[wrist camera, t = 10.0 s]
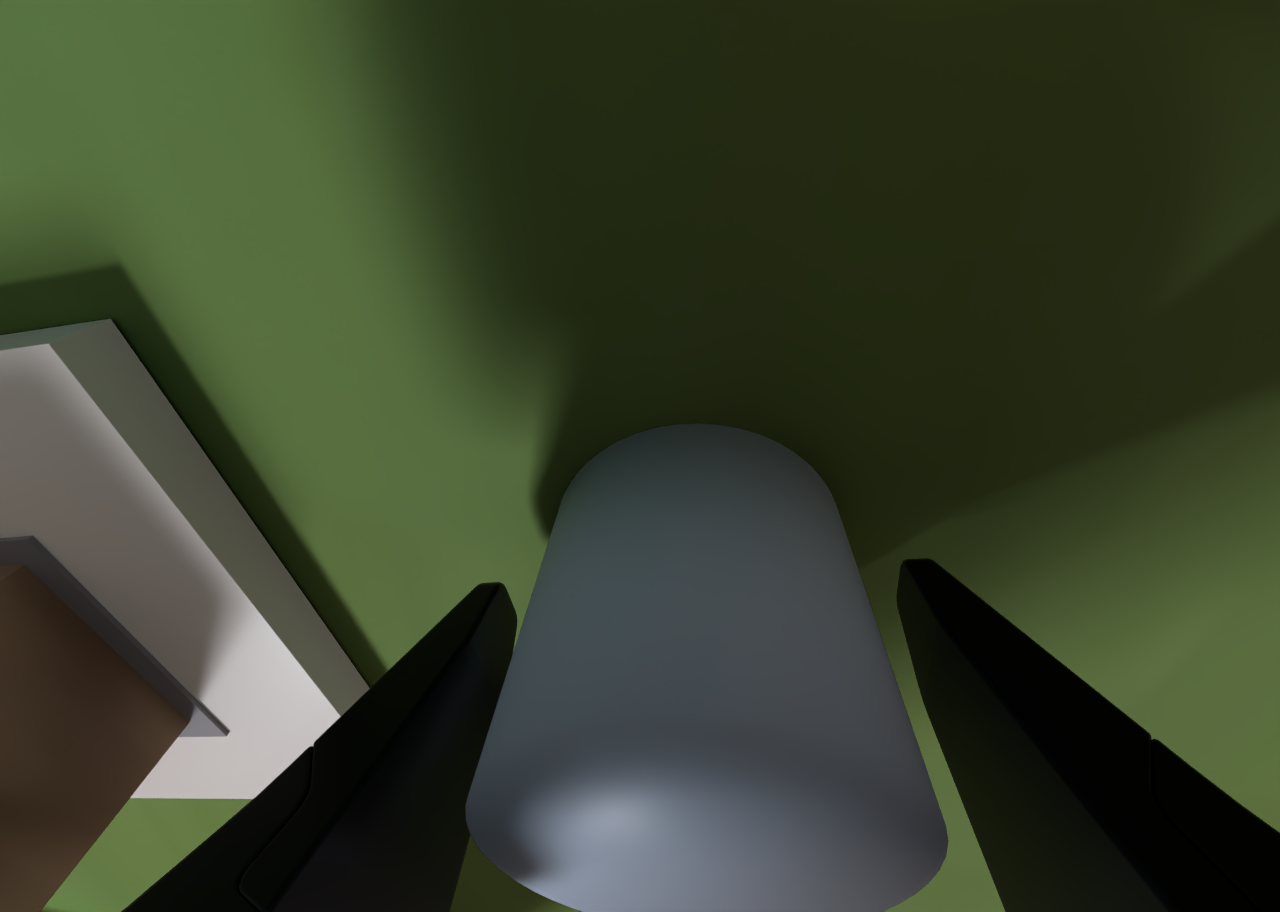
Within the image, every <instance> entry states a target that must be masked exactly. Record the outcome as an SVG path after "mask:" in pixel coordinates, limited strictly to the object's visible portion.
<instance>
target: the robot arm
mask: <svg viewBox="0 0 1280 912" xmlns="http://www.w3.org/2000/svg"><path fill="white" fill-rule="evenodd" d="M897 606H898V611H899V615H900V618H901V622H902V626H903V630H904V633H905V637H906V641H907V645H908V648H909V652H910V656H911V660H912V663H913V667H914V671H915V675H916V678H917V682H918V686H919V689H920V693H921V696H922V700H923V703H924V705H925V708H926V711H927V714H928V716H929V719H930V721H931V724H932V726H933V729H934V732H935V734H936V737H937V739H938V742H939V744H940V747H941V749H942V752H943V754H944V757H945V759H946V762H947V764H948V767H949V770H950V772H951V775H952V777H953V780H954V782H955V785H956V787H957V790H958V792H959V795H960V797H961V800H962V803H963V805H964V808H965V810H966V813H967V815H968V818H969V820H970V823H971V825H972V828H973V830H974V833H975V836H976V838H977V841H978V843H979V846H980V848H981V851H982V853H983V856H984V858H985V861H986V863H987V866H988V868H989V871H990V874H991V876H992V879H993V881H994V884H995V886H996V889H997V891H998V894H999V896H1000V899H1001V901H1002V904H1003V907H1004V909H1005V912H1280V833H1279V832H1278V831H1277V830H1275V829H1274V828H1272V827H1271V826H1270V825H1268V824H1267V823H1266V822H1264V821H1263V820H1261V819H1260V818H1259V817H1257V816H1256V815H1255V814H1253V813H1252V812H1250V811H1249V810H1248V809H1246V808H1245V807H1243V806H1242V805H1241V804H1239V803H1238V802H1237V801H1236V800H1234V799H1233V798H1232V797H1230V796H1229V795H1228V794H1226V793H1225V792H1224V791H1223V790H1221V789H1220V788H1219V787H1217V786H1216V785H1215V784H1214V783H1212V782H1211V781H1210V780H1208V779H1207V778H1206V777H1204V776H1203V775H1202V774H1201V773H1199V772H1198V771H1197V770H1195V769H1194V768H1193V767H1191V766H1190V765H1189V764H1188V763H1186V762H1185V761H1184V760H1183V759H1181V758H1180V757H1179V756H1178V755H1176V754H1175V753H1174V752H1173V751H1171V750H1170V749H1169V748H1168V747H1166V746H1165V745H1164V744H1163V743H1161V742H1160V741H1159V740H1157V739H1152V740H1151V735H1150V733H1149V732H1147V731H1146V730H1145V729H1144V728H1142V727H1141V726H1140V725H1139V724H1137V723H1136V722H1135V721H1134V720H1132V719H1131V718H1130V717H1129V716H1127V715H1126V714H1125V713H1123V712H1122V711H1121V710H1120V709H1118V708H1117V707H1116V706H1115V705H1113V704H1112V703H1111V702H1110V701H1108V700H1107V699H1106V698H1105V697H1103V696H1102V695H1101V694H1100V693H1098V692H1097V691H1096V690H1095V689H1093V688H1092V687H1091V686H1090V685H1088V684H1087V683H1086V682H1085V681H1083V680H1082V679H1081V678H1080V677H1078V676H1077V675H1076V674H1075V673H1073V672H1072V671H1071V670H1070V669H1068V668H1067V667H1066V666H1065V665H1063V664H1062V663H1061V662H1060V661H1058V660H1057V659H1056V658H1055V657H1053V656H1052V655H1051V654H1050V653H1048V652H1047V651H1046V650H1045V649H1043V648H1042V647H1041V646H1040V645H1038V644H1037V643H1036V642H1035V641H1033V640H1032V639H1031V638H1030V637H1028V636H1027V635H1026V634H1025V633H1023V632H1022V631H1021V630H1020V629H1018V628H1017V627H1016V626H1015V625H1013V624H1012V623H1011V622H1010V621H1008V620H1007V619H1006V618H1005V617H1003V616H1002V615H1001V614H1000V613H998V612H997V611H996V610H995V609H993V608H992V607H991V606H990V605H988V604H987V603H986V602H985V601H983V600H982V599H981V598H980V597H978V596H977V595H976V594H975V593H973V592H972V591H971V590H970V589H968V588H967V587H966V586H965V585H963V584H962V583H961V582H960V581H958V580H957V579H956V578H955V577H953V576H952V575H951V574H950V573H948V572H947V571H946V570H945V569H943V568H942V567H941V566H940V565H938V564H937V563H936V562H935V561H933V560H931V559H928V558H922V559H906V560H904V561H903V562H902V564H901V567H900V574H899V582H898V589H897ZM516 629H517V615H516V611H515V609H514V606H513V604H512V601H511V599H510V597H509V594H508V592H507V589H506V587H505V585H504V584H502V583H500V582H492V583H481V584H479V585H477V586H476V587H475V588H474V589H473V590H472V591H471V592H470V593H469V594H468V595H467V596H466V597H465V598H464V599H463V600H461V601H460V602H459V603H458V604H457V605H456V606H455V607H454V608H453V609H452V610H451V611H450V612H449V613H448V614H447V615H446V616H445V617H444V618H443V619H442V620H441V621H440V622H439V623H438V624H436V625H435V626H434V627H433V628H432V629H431V630H430V631H429V632H428V633H427V634H426V635H425V636H424V637H423V638H422V639H421V640H420V641H419V642H418V643H417V644H416V645H415V646H414V647H413V648H411V649H410V650H409V651H408V652H407V653H406V654H405V655H404V656H403V657H402V658H401V659H400V660H399V661H398V662H397V663H396V664H395V665H394V666H393V667H392V668H391V669H390V670H389V671H387V672H386V673H385V674H384V675H383V676H382V677H381V678H380V679H379V680H378V681H377V682H376V683H375V684H374V685H373V686H372V687H371V688H370V689H369V690H368V691H367V692H366V693H365V694H364V695H362V696H361V697H360V698H359V699H358V700H357V701H356V702H355V703H354V704H353V705H352V706H351V707H350V708H349V709H348V710H347V711H346V712H345V713H344V714H343V715H342V716H341V717H340V718H339V719H337V720H336V721H335V722H334V723H333V724H332V725H331V726H330V727H329V728H328V729H327V730H326V731H325V732H324V733H323V734H322V735H321V736H320V737H319V738H318V739H317V740H316V741H315V742H314V744H313V746H310V747H308V748H307V749H306V750H305V751H304V752H303V753H302V754H301V755H300V756H299V757H298V758H297V759H296V760H295V761H294V762H292V763H291V764H290V765H289V766H288V767H287V768H286V769H285V770H284V771H283V772H282V773H281V774H280V775H279V776H278V777H276V778H275V779H274V780H273V781H272V782H271V783H270V784H269V785H268V786H267V787H266V788H265V789H264V790H262V791H261V792H260V793H259V794H258V795H257V796H256V797H255V798H254V799H253V800H251V801H250V802H249V803H248V804H247V805H246V806H245V807H243V808H242V809H241V810H240V811H239V812H238V813H237V814H235V815H234V816H233V817H232V818H231V819H230V820H229V821H227V822H226V823H225V824H224V825H223V826H222V827H221V828H219V829H218V830H217V831H216V832H215V833H214V834H212V835H211V836H210V837H209V838H208V839H207V840H205V841H204V842H203V843H202V844H201V845H199V846H198V847H197V848H196V849H195V850H194V851H192V852H191V853H190V854H189V855H188V856H186V857H185V858H184V859H183V860H182V861H181V862H179V863H178V864H177V865H176V866H175V867H174V868H172V869H171V870H170V871H169V872H168V873H166V874H165V875H164V876H163V877H162V878H161V879H159V880H158V881H157V882H156V883H155V884H154V885H152V886H151V887H150V888H149V889H148V890H146V891H145V892H144V893H143V894H142V895H141V896H139V897H138V898H137V899H136V900H135V901H133V902H132V903H131V904H130V905H129V906H128V907H126V908H125V909H124V910H123V911H122V912H450V908H451V905H452V901H453V897H454V893H455V890H456V886H457V882H458V879H459V875H460V871H461V867H462V864H463V860H464V856H465V852H466V849H467V845H468V841H469V838H470V832H469V829H468V826H467V822H466V808H465V805H466V802H467V798H468V795H469V791H470V788H471V785H472V782H473V779H474V775H475V772H476V769H477V766H478V763H479V760H480V756H481V753H482V750H483V747H484V744H485V741H486V737H487V734H488V731H489V728H490V725H491V722H492V719H493V715H494V712H495V709H496V706H497V703H498V700H499V696H500V693H501V690H502V687H503V684H504V681H505V677H506V674H507V671H508V668H509V665H510V662H511V659H512V655H513V648H514V642H515V636H516Z"/></svg>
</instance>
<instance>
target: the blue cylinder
mask: <svg viewBox="0 0 1280 912" xmlns="http://www.w3.org/2000/svg"><path fill="white" fill-rule="evenodd" d="M465 808H466V822H467V826H468V829H469V832H470V834H471V836H472V838H473V840H474V841H475V843H476V845H477V847H478V848H479V849H480V850H481V851H482V853H483V854H484V855H485V856H486V857H487V858H488V859H489V860H490V861H491V862H492V863H493V864H494V865H495V866H496V867H497V868H499V869H500V870H501V871H502V872H504V873H505V874H506V875H508V876H509V877H511V878H512V879H514V880H515V881H516V882H518V883H520V884H522V885H523V886H525V887H527V888H529V889H530V890H532V891H534V892H536V893H538V894H540V895H542V896H544V897H547V898H549V899H551V900H553V901H555V902H558V903H560V904H563V905H566V906H568V907H571V908H573V909H576V910H579V911H582V912H883V911H885V910H887V909H889V908H891V907H893V906H896V905H898V904H900V903H901V902H903V901H905V900H906V899H908V898H910V897H911V896H913V895H915V894H916V893H917V892H918V891H920V890H921V889H922V888H923V887H924V886H926V885H927V884H928V883H929V882H930V881H931V880H932V878H933V877H934V876H935V875H936V874H937V872H938V871H939V870H940V868H941V866H942V864H943V861H944V859H945V857H946V853H947V847H948V836H947V830H946V825H945V822H944V819H943V816H942V813H941V810H940V807H939V804H938V801H937V799H936V796H935V793H934V790H933V787H932V784H931V781H930V778H929V775H928V772H927V769H926V766H925V763H924V760H923V758H922V755H921V752H920V749H919V746H918V743H917V740H916V737H915V734H914V731H913V728H912V725H911V722H910V719H909V717H908V714H907V711H906V708H905V705H904V702H903V699H902V696H901V693H900V690H899V687H898V684H897V681H896V678H895V676H894V673H893V670H892V667H891V664H890V661H889V658H888V655H887V652H886V649H885V646H884V643H883V640H882V637H881V635H880V632H879V629H878V626H877V623H876V620H875V617H874V614H873V611H872V608H871V605H870V602H869V599H868V596H867V594H866V591H865V588H864V585H863V582H862V579H861V576H860V573H859V570H858V567H857V564H856V561H855V558H854V555H853V553H852V550H851V547H850V544H849V541H848V538H847V535H846V532H845V529H844V526H843V523H842V520H841V517H840V514H839V512H838V509H837V506H836V503H835V501H834V499H833V496H832V494H831V492H830V490H829V489H828V487H827V485H826V484H825V482H824V481H823V479H822V478H821V477H820V476H819V474H818V473H817V472H816V471H815V470H814V469H813V468H812V467H811V465H809V464H808V463H807V462H806V461H805V460H803V459H802V458H801V457H800V456H799V455H797V454H796V453H795V452H793V451H791V450H790V449H788V448H786V447H785V446H783V445H782V444H780V443H778V442H776V441H773V440H771V439H769V438H767V437H765V436H762V435H760V434H756V433H753V432H750V431H747V430H744V429H739V428H734V427H729V426H724V425H714V424H700V423H698V424H677V425H670V426H664V427H658V428H654V429H650V430H647V431H643V432H639V433H637V434H634V435H632V436H629V437H627V438H624V439H622V440H620V441H618V442H616V443H614V444H613V445H611V446H609V447H607V448H606V449H604V450H602V451H601V452H600V453H598V454H597V455H596V456H595V457H593V458H592V459H591V460H589V461H588V462H587V463H586V464H585V466H584V467H583V468H582V469H581V470H580V471H579V472H578V473H577V474H576V476H575V477H574V478H573V480H572V481H571V483H570V484H569V486H568V488H567V490H566V492H565V494H564V496H563V498H562V501H561V504H560V507H559V510H558V513H557V516H556V520H555V523H554V526H553V529H552V532H551V535H550V539H549V542H548V545H547V548H546V551H545V554H544V557H543V561H542V564H541V567H540V570H539V573H538V576H537V580H536V583H535V586H534V589H533V592H532V595H531V599H530V602H529V605H528V608H527V611H526V614H525V617H524V621H523V624H522V627H521V630H520V633H519V636H518V640H517V643H516V646H515V649H514V652H513V655H512V659H511V662H510V665H509V668H508V671H507V674H506V677H505V681H504V684H503V687H502V690H501V693H500V696H499V700H498V703H497V706H496V709H495V712H494V715H493V719H492V722H491V725H490V728H489V731H488V734H487V737H486V741H485V744H484V747H483V750H482V753H481V756H480V760H479V763H478V766H477V769H476V772H475V775H474V779H473V782H472V785H471V788H470V791H469V795H468V798H467V802H466V805H465Z"/></svg>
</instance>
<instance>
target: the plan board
mask: <svg viewBox="0 0 1280 912" xmlns="http://www.w3.org/2000/svg"><path fill="white" fill-rule="evenodd" d="M21 564H24V565H25V566H26V567H28V568H29V569H30V570H31V571H32V572H33V573H34V574H35V575H36V576H37V577H38V578H39V579H40V580H41V581H42V582H43V583H44V584H45V585H46V586H47V587H49V588H50V589H51V590H52V591H53V592H54V593H55V594H56V595H57V596H58V597H59V598H60V599H61V600H62V601H63V602H64V603H65V604H66V605H67V606H68V607H70V608H71V609H72V610H73V611H74V612H75V613H76V614H77V615H78V616H79V617H80V618H81V619H82V620H83V621H84V622H85V623H86V624H87V625H88V626H89V627H91V628H92V629H93V630H94V631H95V632H96V633H97V634H98V635H99V636H100V637H101V638H102V639H103V640H104V641H105V642H106V643H107V644H108V645H109V646H110V647H111V648H113V649H114V650H115V651H116V652H117V653H118V654H119V655H120V656H121V657H122V658H123V659H124V660H125V661H126V662H127V663H128V664H129V665H130V666H131V667H132V668H134V669H135V670H136V671H137V672H138V673H139V674H140V675H141V676H142V677H143V678H144V679H145V680H146V681H147V682H148V683H149V684H150V685H151V686H152V687H153V688H155V689H156V690H157V691H158V692H159V693H160V694H161V695H162V696H163V697H164V698H165V699H166V700H167V701H168V702H169V703H170V704H171V705H172V706H173V707H174V708H176V709H177V710H178V711H179V712H180V713H181V714H182V715H183V716H184V717H185V718H186V719H187V720H188V721H189V722H190V723H189V724H188V725H187V726H186V728H185V729H184V730H183V731H182V733H181V734H180V735H179V736H178V738H177V739H176V740H175V742H174V743H173V744H172V745H171V747H170V748H169V749H168V750H167V752H166V753H165V754H164V755H163V757H162V758H161V759H160V760H159V762H158V763H157V764H156V766H155V767H154V768H153V769H152V771H151V772H150V773H149V774H148V776H147V777H146V778H145V779H144V781H143V782H142V783H141V785H140V786H139V787H138V788H137V790H136V791H135V792H134V793H133V795H132V796H131V797H130V798H203V799H254V798H255V797H256V796H257V795H258V794H259V793H260V792H261V791H262V790H264V789H265V788H266V787H267V786H268V785H269V784H270V783H271V782H272V781H273V780H274V779H275V778H276V777H278V776H279V775H280V774H281V773H282V772H283V771H284V770H285V769H286V768H287V767H288V766H289V765H290V764H291V763H292V762H294V761H295V760H296V759H297V758H298V757H299V756H300V755H301V754H302V753H303V752H304V751H305V750H306V749H307V748H308V747H310V746H313V744H314V742H315V741H316V740H317V739H318V738H319V737H320V736H321V735H322V734H323V733H324V732H325V731H326V730H327V729H328V728H329V727H330V726H331V725H332V724H333V723H334V722H335V721H336V720H337V719H339V718H340V717H341V716H342V715H343V714H344V713H345V712H346V711H347V710H348V709H349V708H350V707H351V706H352V705H353V704H354V703H355V702H356V701H357V700H358V699H359V698H360V697H361V696H362V695H364V694H365V693H366V692H367V691H368V690H369V689H370V688H369V687H368V685H367V684H366V682H365V681H364V680H363V678H362V677H361V675H360V674H359V672H358V671H357V670H356V668H355V667H354V665H353V664H352V662H351V661H350V660H349V658H348V657H347V655H346V654H345V652H344V651H343V650H342V648H341V647H340V645H339V644H338V642H337V641H336V640H335V638H334V637H333V635H332V634H331V632H330V631H329V630H328V628H327V627H326V625H325V624H324V622H323V621H322V620H321V618H320V617H319V615H318V614H317V612H316V611H315V610H314V608H313V607H312V605H311V604H310V602H309V601H308V600H307V598H306V597H305V595H304V594H303V592H302V591H301V590H300V588H299V587H298V585H297V584H296V583H295V581H294V580H293V578H292V577H291V575H290V574H289V573H288V571H287V570H286V568H285V567H284V565H283V564H282V563H281V561H280V560H279V558H278V557H277V555H276V554H275V553H274V551H273V550H272V548H271V547H270V545H269V544H268V543H267V541H266V540H265V538H264V537H263V535H262V534H261V533H260V531H259V530H258V528H257V527H256V525H255V524H254V523H253V521H252V520H251V518H250V517H249V515H248V514H247V513H246V511H245V510H244V508H243V507H242V505H241V504H240V503H239V501H238V500H237V498H236V497H235V495H234V494H233V493H232V491H231V490H230V488H229V487H228V485H227V484H226V483H225V481H224V480H223V478H222V477H221V475H220V474H219V473H218V471H217V470H216V468H215V467H214V465H213V464H212V463H211V461H210V460H209V458H208V457H207V455H206V454H205V453H204V451H203V450H202V448H201V447H200V445H199V444H198V443H197V441H196V440H195V438H194V437H193V436H192V434H191V433H190V431H189V430H188V428H187V427H186V426H185V424H184V423H183V421H182V420H181V418H180V417H179V416H178V414H177V413H176V411H175V410H174V408H173V407H172V406H171V404H170V403H169V401H168V400H167V398H166V397H165V396H164V394H163V393H162V391H161V390H160V388H159V387H158V386H157V384H156V383H155V381H154V380H153V378H152V377H151V376H150V374H149V373H148V371H147V370H146V368H145V367H144V366H143V364H142V363H141V361H140V360H139V358H138V357H137V356H136V354H135V353H134V351H133V350H132V348H131V347H130V346H129V344H128V343H127V341H126V340H125V338H124V337H123V336H122V334H121V333H120V331H119V330H118V328H117V327H116V326H115V324H114V323H113V321H112V320H111V319H105V320H98V321H92V322H85V323H78V324H72V325H65V326H59V327H52V328H45V329H39V330H32V331H25V332H19V333H12V334H6V335H0V566H7V565H21Z"/></svg>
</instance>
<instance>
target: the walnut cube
mask: <svg viewBox="0 0 1280 912" xmlns="http://www.w3.org/2000/svg"><path fill="white" fill-rule="evenodd" d="M189 723H190V722H189V721H188V720H187V719H186V718H185V717H184V716H183V715H182V714H181V713H180V712H179V711H178V710H177V709H176V708H174V707H173V706H172V705H171V704H170V703H169V702H168V701H167V700H166V699H165V698H164V697H163V696H162V695H161V694H160V693H159V692H158V691H157V690H156V689H155V688H153V687H152V686H151V685H150V684H149V683H148V682H147V681H146V680H145V679H144V678H143V677H142V676H141V675H140V674H139V673H138V672H137V671H136V670H135V669H134V668H132V667H131V666H130V665H129V664H128V663H127V662H126V661H125V660H124V659H123V658H122V657H121V656H120V655H119V654H118V653H117V652H116V651H115V650H114V649H113V648H111V647H110V646H109V645H108V644H107V643H106V642H105V641H104V640H103V639H102V638H101V637H100V636H99V635H98V634H97V633H96V632H95V631H94V630H93V629H92V628H91V627H89V626H88V625H87V624H86V623H85V622H84V621H83V620H82V619H81V618H80V617H79V616H78V615H77V614H76V613H75V612H74V611H73V610H72V609H71V608H70V607H68V606H67V605H66V604H65V603H64V602H63V601H62V600H61V599H60V598H59V597H58V596H57V595H56V594H55V593H54V592H53V591H52V590H51V589H50V588H49V587H47V586H46V585H45V584H44V583H43V582H42V581H41V580H40V579H39V578H38V577H37V576H36V575H35V574H34V573H33V572H32V571H31V570H30V569H29V568H28V567H26V566H25V565H24V564H21V565H7V566H0V912H40V911H41V910H42V908H43V907H44V906H45V905H46V903H47V902H48V901H49V900H50V898H51V897H52V896H53V895H54V893H55V892H56V891H57V889H58V888H59V887H60V886H61V884H62V883H63V882H64V881H65V879H66V878H67V877H68V876H69V874H70V873H71V872H72V871H73V869H74V868H75V867H76V865H77V864H78V863H79V862H80V860H81V859H82V858H83V857H84V855H85V854H86V853H87V852H88V850H89V849H90V848H91V846H92V845H93V844H94V843H95V841H96V840H97V839H98V838H99V836H100V835H101V834H102V833H103V831H104V830H105V829H106V828H107V826H108V825H109V824H110V822H111V821H112V820H113V819H114V817H115V816H116V815H117V814H118V812H119V811H120V810H121V809H122V807H123V806H124V805H125V803H126V802H127V801H128V800H129V798H130V797H131V796H132V795H133V793H134V792H135V791H136V790H137V788H138V787H139V786H140V785H141V783H142V782H143V781H144V779H145V778H146V777H147V776H148V774H149V773H150V772H151V771H152V769H153V768H154V767H155V766H156V764H157V763H158V762H159V760H160V759H161V758H162V757H163V755H164V754H165V753H166V752H167V750H168V749H169V748H170V747H171V745H172V744H173V743H174V742H175V740H176V739H177V738H178V736H179V735H180V734H181V733H182V731H183V730H184V729H185V728H186V726H187V725H188V724H189Z"/></svg>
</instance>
